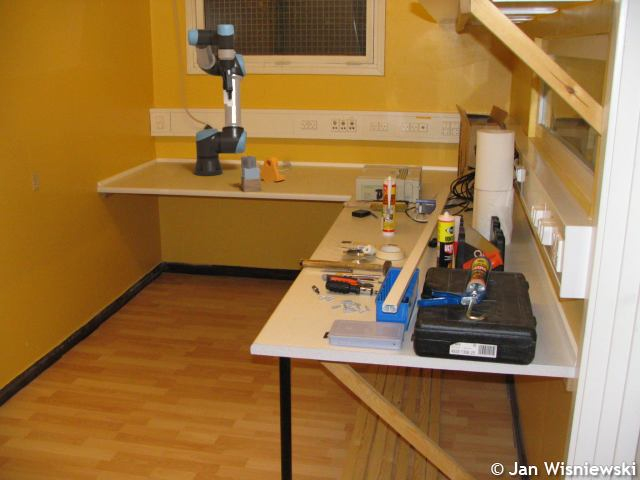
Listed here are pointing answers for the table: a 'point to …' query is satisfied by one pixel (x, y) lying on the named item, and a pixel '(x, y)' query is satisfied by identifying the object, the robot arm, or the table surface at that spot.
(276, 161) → the bracket
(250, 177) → the tower top
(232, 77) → the robot arm
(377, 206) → the table surface
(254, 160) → the dice cube
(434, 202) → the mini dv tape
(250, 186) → the tower bottom
